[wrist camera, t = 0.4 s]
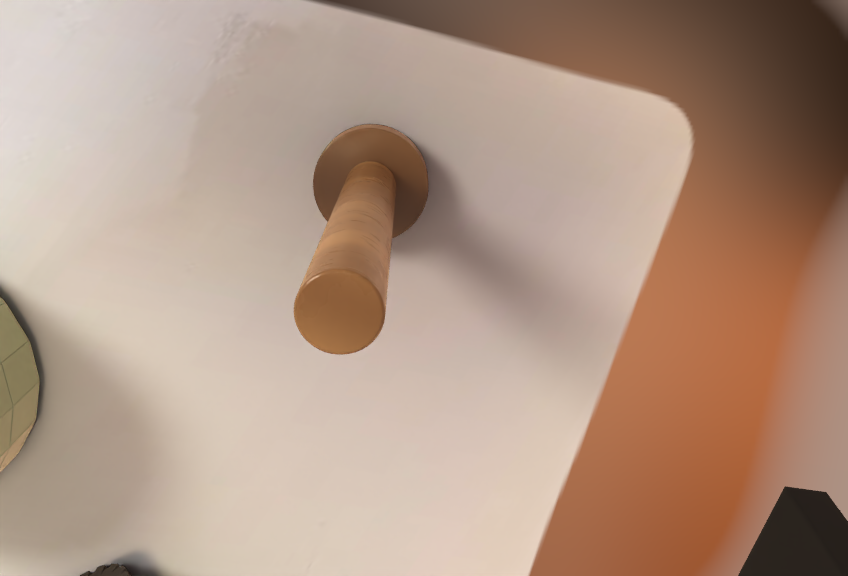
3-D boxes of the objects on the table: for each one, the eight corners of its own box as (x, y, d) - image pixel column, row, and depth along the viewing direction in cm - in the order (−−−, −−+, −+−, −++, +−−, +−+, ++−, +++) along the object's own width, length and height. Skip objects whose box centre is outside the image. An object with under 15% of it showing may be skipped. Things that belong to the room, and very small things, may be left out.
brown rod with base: (328, 112, 35) (253, 189, 18) (439, 138, 35) (465, 238, 18) (307, 220, 36) (219, 384, 19) (413, 244, 37) (416, 425, 20)
